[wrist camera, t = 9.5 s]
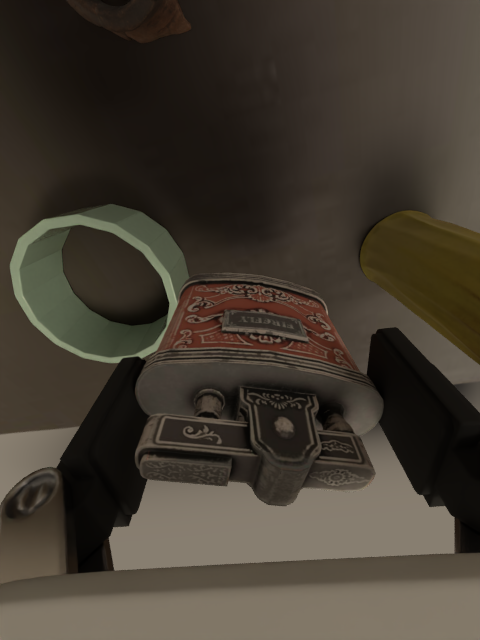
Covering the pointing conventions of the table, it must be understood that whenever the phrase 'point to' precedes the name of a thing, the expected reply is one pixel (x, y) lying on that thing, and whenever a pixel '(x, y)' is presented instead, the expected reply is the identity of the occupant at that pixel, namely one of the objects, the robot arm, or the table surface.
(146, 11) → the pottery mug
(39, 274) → the pale green hollow ring
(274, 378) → the lighter
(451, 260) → the vase
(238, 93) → the table surface
